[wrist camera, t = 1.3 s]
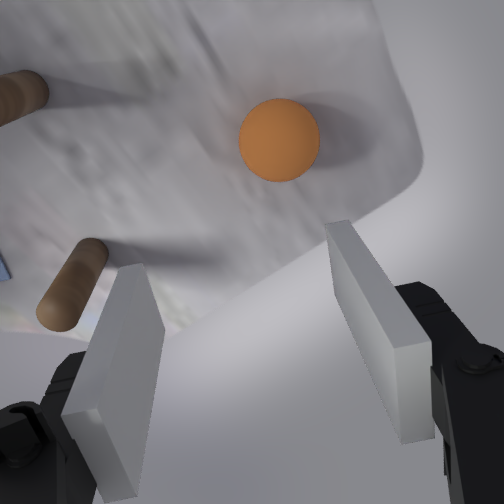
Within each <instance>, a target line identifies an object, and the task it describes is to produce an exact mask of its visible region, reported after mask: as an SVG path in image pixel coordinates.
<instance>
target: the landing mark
mask: <svg viewBox="0 0 504 504" xmlns="http://www.w3.org/2000/svg"><path fill="white" fill-rule="evenodd" d="M10 278H11V277H10V275H9V273H8V271H7V269H6V267H5V265H4V263H3V261H2V259H1V257H0V281H4V280H8V279H10Z"/></svg>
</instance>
